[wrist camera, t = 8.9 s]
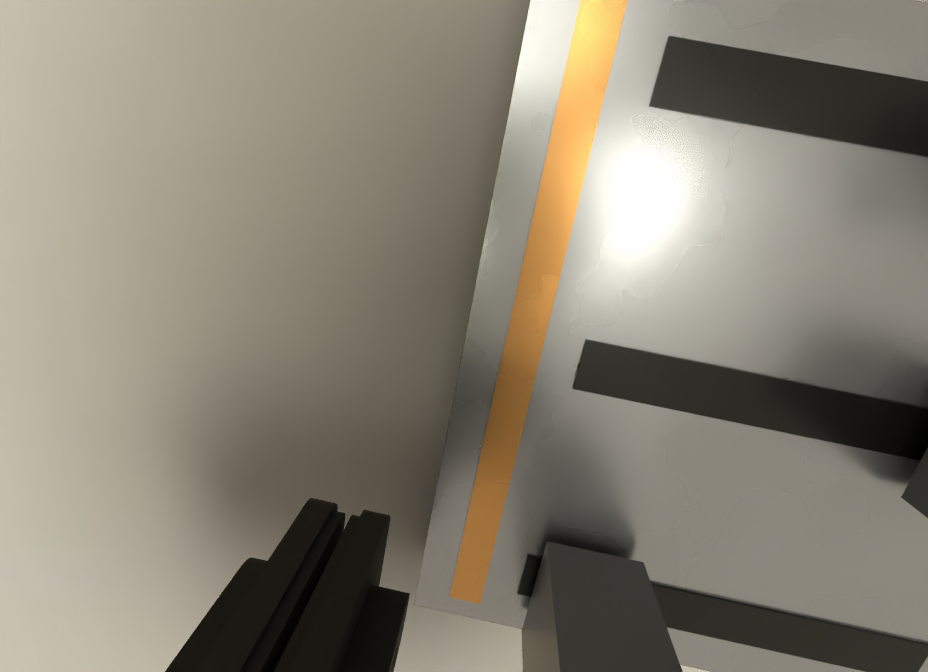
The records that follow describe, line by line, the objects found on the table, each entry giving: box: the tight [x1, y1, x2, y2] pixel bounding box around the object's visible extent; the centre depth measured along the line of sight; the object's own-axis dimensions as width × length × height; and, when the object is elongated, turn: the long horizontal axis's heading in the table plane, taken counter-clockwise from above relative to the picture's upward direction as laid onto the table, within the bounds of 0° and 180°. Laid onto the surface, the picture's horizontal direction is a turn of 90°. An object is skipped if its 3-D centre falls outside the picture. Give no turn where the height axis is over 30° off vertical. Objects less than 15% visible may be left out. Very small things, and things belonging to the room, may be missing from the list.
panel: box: [414, 0, 928, 672], centre depth 10 cm, size 13×15×2 cm
